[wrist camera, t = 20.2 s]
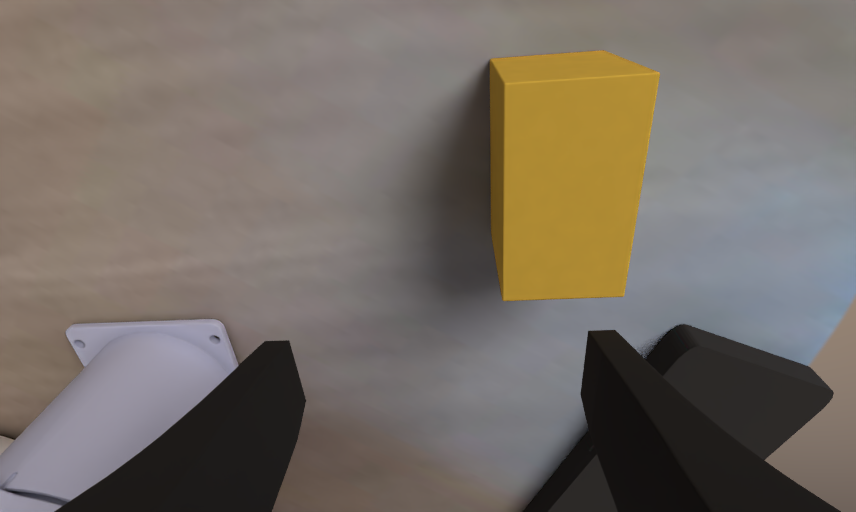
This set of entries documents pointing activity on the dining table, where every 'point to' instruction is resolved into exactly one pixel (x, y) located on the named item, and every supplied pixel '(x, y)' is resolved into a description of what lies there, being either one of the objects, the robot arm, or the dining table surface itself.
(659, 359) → the smart home device
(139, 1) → the dining table surface
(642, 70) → the yellow block
